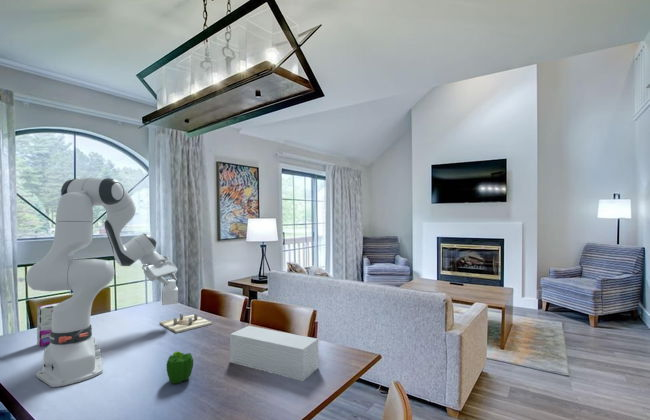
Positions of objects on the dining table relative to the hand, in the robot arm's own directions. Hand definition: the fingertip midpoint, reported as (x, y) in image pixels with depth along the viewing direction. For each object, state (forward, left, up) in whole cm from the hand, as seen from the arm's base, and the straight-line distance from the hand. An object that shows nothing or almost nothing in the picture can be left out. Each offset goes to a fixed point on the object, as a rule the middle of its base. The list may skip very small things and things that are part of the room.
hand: (171, 282), depth 164 cm
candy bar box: (+15, +44, -22) cm, 51 cm away
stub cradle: (-3, -6, -22) cm, 23 cm away
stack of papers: (-73, -8, -22) cm, 77 cm away
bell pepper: (-59, +21, -22) cm, 66 cm away
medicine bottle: (+1, 0, -11) cm, 11 cm away
